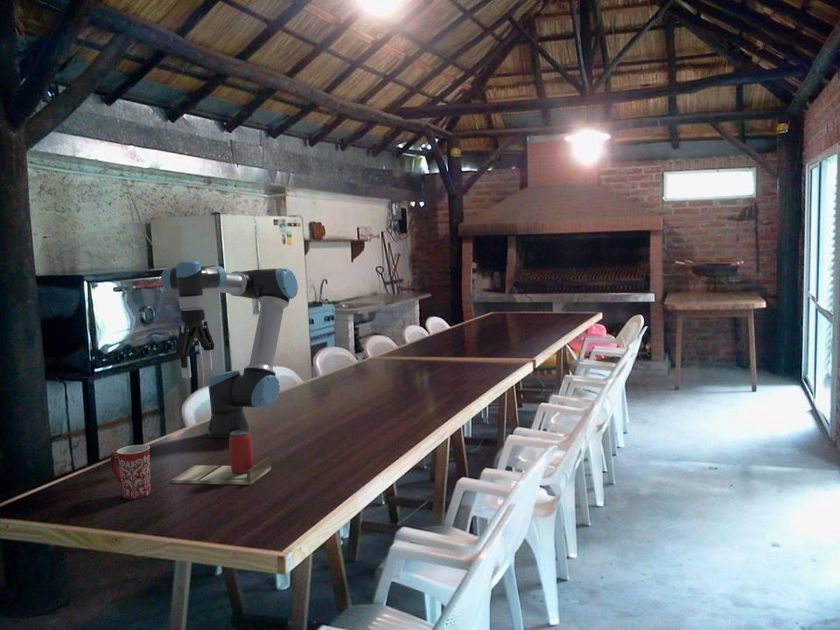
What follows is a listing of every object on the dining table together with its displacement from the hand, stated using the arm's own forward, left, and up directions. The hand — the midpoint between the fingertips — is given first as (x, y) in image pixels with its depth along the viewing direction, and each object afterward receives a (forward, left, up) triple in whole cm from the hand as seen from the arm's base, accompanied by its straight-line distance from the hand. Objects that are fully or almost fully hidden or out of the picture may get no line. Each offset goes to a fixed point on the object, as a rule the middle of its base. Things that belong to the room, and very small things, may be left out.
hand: (197, 373), depth 239 cm
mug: (+34, -4, -29) cm, 45 cm away
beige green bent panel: (+17, +15, -29) cm, 37 cm away
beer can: (+17, +22, -27) cm, 39 cm away
